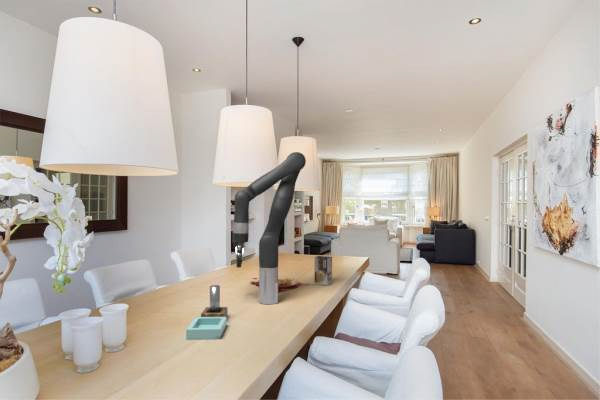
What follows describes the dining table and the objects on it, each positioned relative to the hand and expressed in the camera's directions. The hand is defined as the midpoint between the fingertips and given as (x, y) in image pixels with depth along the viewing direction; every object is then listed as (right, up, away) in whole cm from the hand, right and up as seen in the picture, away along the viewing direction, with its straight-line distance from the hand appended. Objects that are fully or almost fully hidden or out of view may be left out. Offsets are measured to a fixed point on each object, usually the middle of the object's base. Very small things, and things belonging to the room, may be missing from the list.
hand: (239, 265), depth 163 cm
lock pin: (-6, -18, -23) cm, 30 cm away
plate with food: (+17, -19, +38) cm, 46 cm away
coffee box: (+43, -19, +40) cm, 62 cm away
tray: (-5, -18, -36) cm, 41 cm away
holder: (-6, -18, -23) cm, 30 cm away
